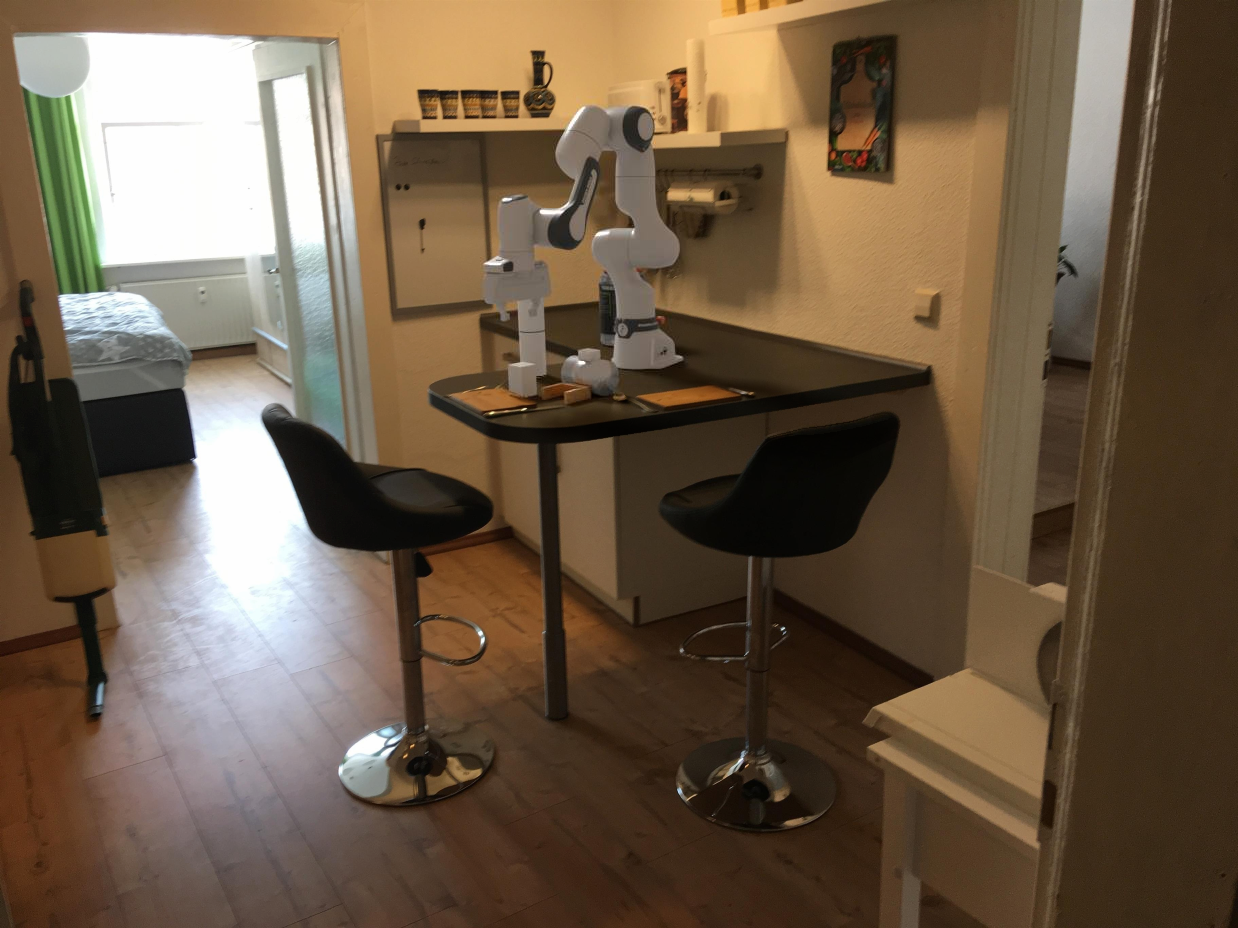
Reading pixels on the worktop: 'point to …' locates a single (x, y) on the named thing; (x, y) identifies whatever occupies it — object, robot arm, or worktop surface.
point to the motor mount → (584, 377)
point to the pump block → (522, 378)
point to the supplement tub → (609, 307)
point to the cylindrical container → (532, 336)
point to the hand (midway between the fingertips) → (519, 318)
